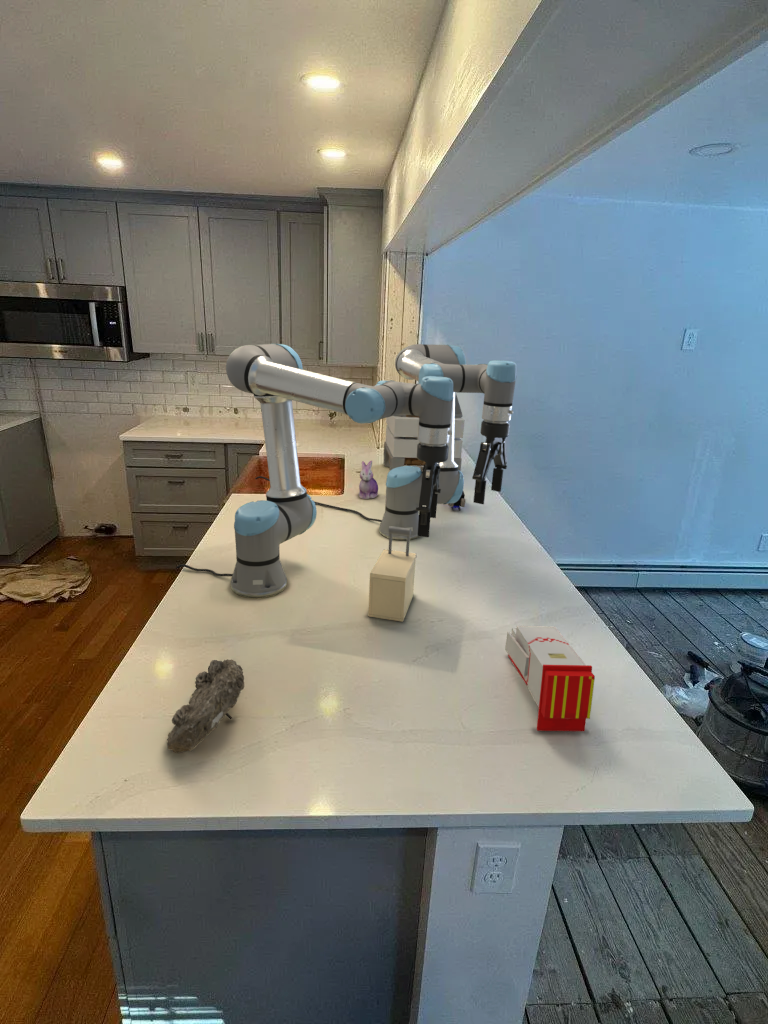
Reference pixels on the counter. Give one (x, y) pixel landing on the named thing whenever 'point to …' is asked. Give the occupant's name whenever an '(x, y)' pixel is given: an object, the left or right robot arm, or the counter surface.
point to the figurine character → (458, 502)
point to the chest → (390, 597)
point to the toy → (552, 677)
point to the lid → (394, 559)
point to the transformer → (414, 440)
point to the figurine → (367, 482)
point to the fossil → (206, 705)
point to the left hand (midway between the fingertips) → (427, 526)
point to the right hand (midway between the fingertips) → (487, 496)
